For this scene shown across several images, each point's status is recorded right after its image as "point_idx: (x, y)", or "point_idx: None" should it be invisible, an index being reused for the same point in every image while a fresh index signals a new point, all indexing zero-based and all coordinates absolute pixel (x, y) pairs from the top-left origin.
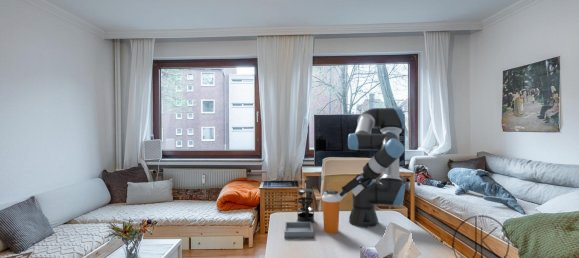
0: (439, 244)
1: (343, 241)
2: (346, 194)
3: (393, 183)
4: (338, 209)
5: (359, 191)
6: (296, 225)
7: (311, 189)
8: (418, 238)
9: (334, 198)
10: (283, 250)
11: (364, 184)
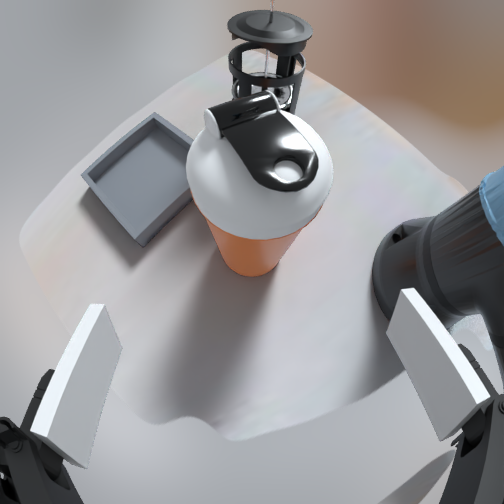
0: None
1: (198, 352)
2: (84, 445)
3: None
4: (269, 251)
5: (416, 384)
6: (177, 140)
7: (309, 30)
8: (410, 480)
9: (223, 217)
10: (32, 249)
11: (454, 481)
